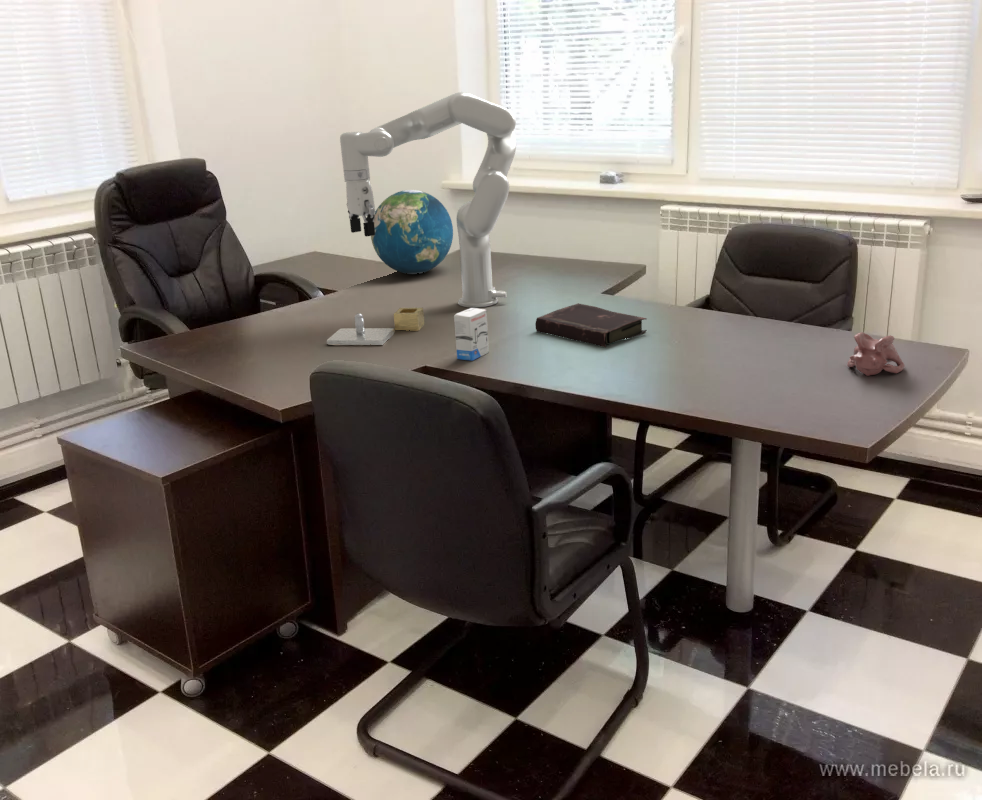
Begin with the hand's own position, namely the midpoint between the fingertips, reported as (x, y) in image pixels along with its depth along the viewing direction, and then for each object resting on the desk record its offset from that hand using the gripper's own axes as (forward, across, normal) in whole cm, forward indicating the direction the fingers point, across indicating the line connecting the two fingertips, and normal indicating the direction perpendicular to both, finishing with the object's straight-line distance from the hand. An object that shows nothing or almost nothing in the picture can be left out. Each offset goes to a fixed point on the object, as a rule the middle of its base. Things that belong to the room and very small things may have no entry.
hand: (363, 233), depth 280 cm
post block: (+25, -24, +14) cm, 37 cm away
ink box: (+25, -58, -2) cm, 64 cm away
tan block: (+25, -22, -2) cm, 33 cm away
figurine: (+26, -131, -66) cm, 149 cm away
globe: (+25, +44, -38) cm, 63 cm away
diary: (+26, -61, -38) cm, 77 cm away
